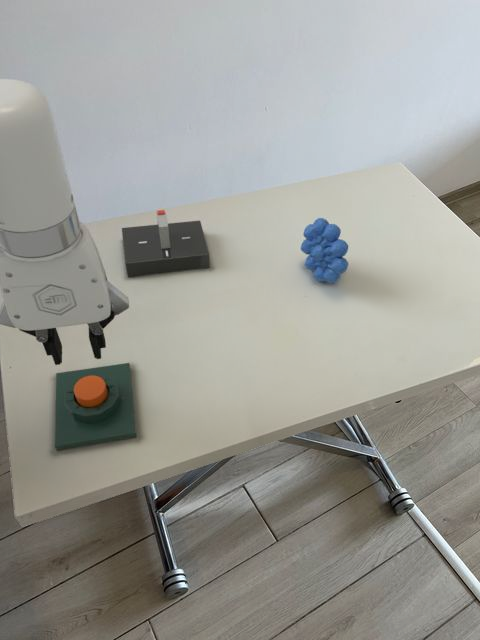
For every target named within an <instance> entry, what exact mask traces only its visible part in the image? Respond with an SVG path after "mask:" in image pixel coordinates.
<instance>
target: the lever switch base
mask: <svg viewBox="0 0 480 640" xmlns="http://www.w3.org/2000/svg"><path fill="white" fill-rule="evenodd" d="M167 223H168V229H169V239H170V248H166V249H162V248H161V242H160V237H159V230H158V224H148V225H140V226H139V225H137V226H129V227H128V226H127V227H121V236H122V244H123V245H122V247H123V254H124V263H125V270H126V276H127V277H128V278H133V277H141V276H142V277H144V276H152V275H158V274H159V275H160V274H168V273H177V272H185V271H194V270H203V269H210V268H211V264H210V263H211V261H210V252H209V248H208V244H207V241H206V237H205V236H206V235H205V233H204V230H203V229H204V228H203V225H202V221H201V220H200V219H199V220H190V221H181V222H170V223H169V222H167Z"/></svg>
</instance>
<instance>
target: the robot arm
mask: <svg viewBox="0 0 480 640" xmlns="http://www.w3.org/2000/svg"><path fill="white" fill-rule="evenodd" d="M63 155H64V154H63V152H62V148H61V144H60V139H59V136H58V132H57V127H56V124H55V119H54V115H53V112H52V109H51V105H50V103H49V101H48V99H47V97H46V96H45V94H44V93H43V92H42V91H41V90H40V89H39V88H38V87H36V86H35V85H33V84H32V83H29V82H27V81H23V80H19V79H14V78H13V79H12V78H0V294H1V297H2V300H3V302H2V304H1V306H0V325H1V326H5V327H9V328H13V329H18V330H19V331H20V332H23V333H25V334H28V335H30V336H32V337H34V338H35V340H36V341H37V342H38V343H42V346H43V348H44V351H45V353H46V356H51V358H52V361H53V363H54V365H55V366H57V365H58V366H59V365H61V364H62V363H63V344H62V342H61V338H60V335H59V333H58V329H59V328H65V327H71V326H73V327H74V326H79V325H87V326H88V339H89V343H90V347H91V350H92V354H93V357H94V359H96V360H100V359H102V349H105V348H107V343H106V337H105V332H104V329H105V328H106V327H107V326H108V325H109V324H110V323H111V322H112V321H113V320H114V319H115V317H116V316H119V315H120V314H123V312H125V311H127V310H128V309H130V301H129V297H128V296H127V295H126V294H124V293H123V292H122V291H121V290H120V289H118V288H117V287H116V286H115V285H113V284H112V283H111V282H110V281H108V277H107V273H106V270H105V267H104V264H103V262H102V258H101V255H100V253H99V250H98V248H97V245H96V243H95V240H94V239H93V236H92V234H91V232H90V230H89V228H88V227H87V225H86V224H85V223H84V222H82V221H80V219H79V215H78V211H77V208H76V203H75V199H74V196H73V191H72V188H71V184H70V180H69V176H68V173H67V168H66V163H65V160H64V156H63ZM57 328H58V329H57Z"/></svg>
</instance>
